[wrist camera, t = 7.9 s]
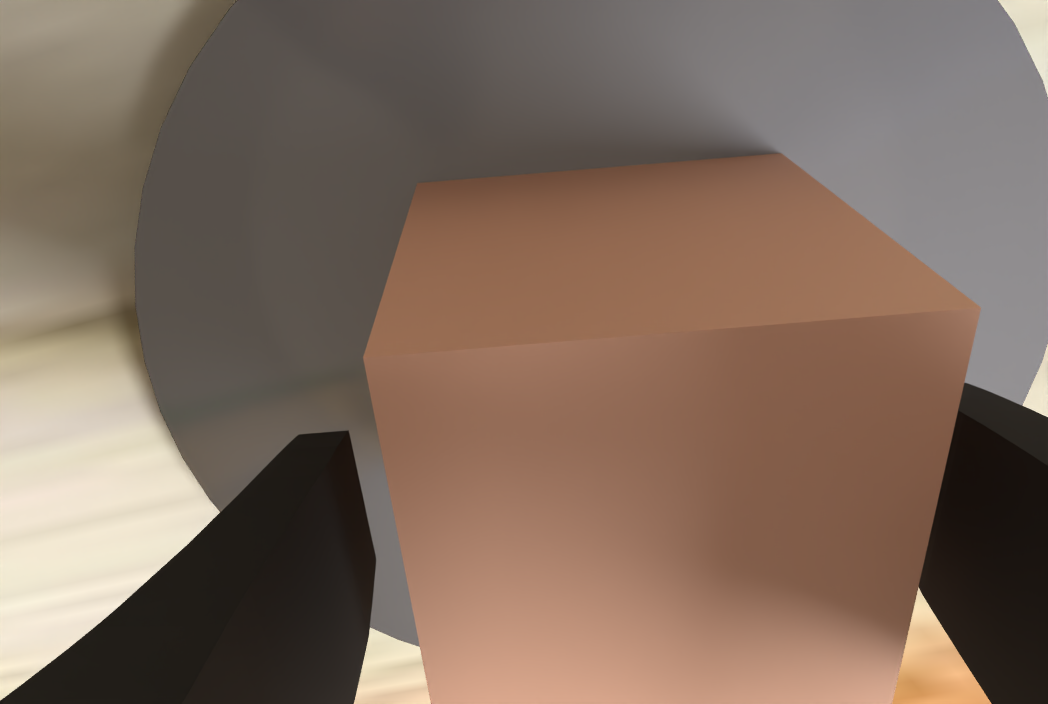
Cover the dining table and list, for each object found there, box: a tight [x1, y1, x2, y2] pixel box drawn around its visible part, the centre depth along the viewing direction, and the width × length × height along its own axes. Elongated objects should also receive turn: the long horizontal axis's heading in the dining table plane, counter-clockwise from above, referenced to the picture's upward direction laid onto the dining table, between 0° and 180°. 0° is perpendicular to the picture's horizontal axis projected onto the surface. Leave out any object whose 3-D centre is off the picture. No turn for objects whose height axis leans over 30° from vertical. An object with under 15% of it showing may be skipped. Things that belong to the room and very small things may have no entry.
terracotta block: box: [363, 153, 981, 704], centre depth 10 cm, size 5×5×5 cm
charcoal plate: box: [135, 0, 1048, 647], centre depth 12 cm, size 14×14×1 cm
